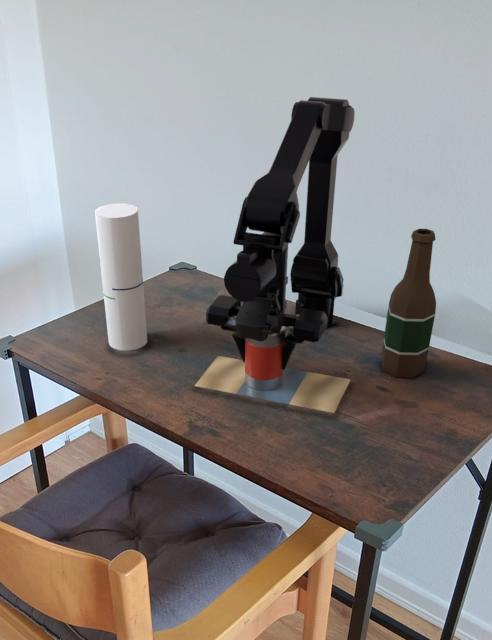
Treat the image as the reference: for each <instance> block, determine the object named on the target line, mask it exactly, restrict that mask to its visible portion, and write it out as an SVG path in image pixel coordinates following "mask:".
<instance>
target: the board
mask: <svg viewBox="0 0 492 640" xmlns="http://www.w3.org/2000/svg"><path fill="white" fill-rule="evenodd" d="M351 380H352V379H350V378H345V377H339V376H334V375H328V374H327V375H326V374H323V373H318V372H317V373H316V372H311V371H306V370H301V369H300V370H299V369H296V368H295V369H294V368H289V367H286V368H285V370H284V372H283V383H282V385H281V386H280V387H278V388H276V389H273V390H266V391H263V390H256V389H253V388H251V387H249V386H248V385H247V384H246V383H245V362H243V360H242V359H239V358H233V357H228V356H221V355H218V356H217V357H216V358H215V359H214V360H213V362H212V363H211V364H210V365H209V367H207V369H206V370H205V372H204V373H202V375H201V376H200V378H199V379H198V381H197V382H196V383H195V384H194V387H198V388H202V389H208V390H214V391H219V392H224V393H228V394H234V395H238V396H239V395H240V396H244V397H250V398H254V399H260V400H266V401H271V402H275V403H280V404H285V405H291V406H295V407H301V408H306V409H311V410H317V411H321V412H326V413H332V414H335V413H336V411H337V409H338V407H339V405H340V402H341V400H342V399H343V396H344V395H345V392H346V391H347V389H348V387H349V384H350V383H351Z"/></svg>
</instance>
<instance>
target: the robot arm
mask: <svg viewBox="0 0 492 640" xmlns="http://www.w3.org/2000/svg"><path fill="white" fill-rule="evenodd" d="M354 123H355V108H354V107H353V106H352V105H350V103H349V100H348V99H346V98H345V99H344V98H342V99H341V98H333V97H332V98H331V97H316V96H310V97H309V98H308V99H307V100H303V99H302V100H299V101H296V102H295V103H293V106H292V109H291V119H290V122H289V124H288V127H287V129H286V131H285V134H284V136H283V138H282V141H281V143H280V146H279V148H278V150H277V153H276V155H275V157H274V159H273V162H272V164H271V167H270V169H269V171H268V172H267V173H265V175H263V176H261V177H260V178H258V179H257V180H255V182H254V183H253V185H252V187H251V189H250V191H249V192H248V194H247V195H246V196H245V197H244V200H243V201H242V205H241V209H240V214H239V217H238V222H237V226H236V229H235V233H234V238H233V245H237V246H242V250H241V251H240V252H239V251H238V253H237V254H236V260H235V261H234V262H233V263H232V264H231V265H230V266H228V268H227V269H226V271H225V272H224V273H225V274H224V276H223V284H224V287H225V290H226V291H227V293H228V294H229V296H228V295H224V294H223V295H222V294H219V295H218V296H217V297H216V298H215V299H214V300H213V301H212V302H211V304H209V306H208V307H207V308H206V312H205V322H206V323H207V324H208V325H211V326H212V325H213V326H217V327H220V328H221V330H222V331H225V332H227V333H228V334H230V335H231V337H232V339H233V340H234V342H235V345H236V348H237V350H238V353H239V356H240V357H241V360H243V362H245V338H248V339H254V340H256V341H264V340H266V339H267V337H268V335H272V333H276V334H279V333H280V331H281V328H282V326H285V327H286V328H288V333H287V334H286V335H285V338H284V342H285V347H284V354H283V360H282V369H283V370H285V368H288V364H289V362H290V360H291V358H292V355H293V353H294V351H295V349H296V346H297V344H303V343H304V342H308V343H317V342H319V341H320V339H321V338H322V336H323V334H324V333H325V332H326V330H327V328H328V327H334V326H336V325H338V321H337V320H336V319H334V309H335V300H336V298H338V297H339V298H340V297H342V296H343V291H344V290H343V289H344V280H345V279H344V276H343V274H342V271H341V268H340V267H339V253H338V252H337V249H336V248H335V246H334V244H333V242H332V241H331V240H332V239H331V238H332V227H333V214H334V205H335V203H334V201H335V192H336V191H335V189H336V181H337V180H336V179H337V167H338V156H339V154H340V152H341V151H342V149H343V148H344V147H345V145H346V143H347V142H348V141H349V140H350V139H349V138H350V133H351V131H352V129H353V126H354ZM307 166H308V172H307V173H308V175H307V191H306V205H305V206H306V208H305V222H304V223H305V224H304V239H303V245H302V246H301V247H300V248H299V250H298V251H297V253H296V255H295V256H294V257H293V259H292V264H291V268H290V274H289V275H290V276H288V275H287V273H288V257H289V244H292V243H293V240H294V236H295V234H296V230H297V226H298V224H299V221H300V218H301V211H300V203H299V198H298V193H297V192H298V189H299V186H300V184H301V181H302V179H303V176H304V175H305V172H306V169H307ZM248 230H250V231H254V232H260V233H253V232H248ZM261 232H262V233H261ZM289 277H290V286H291V293H294V294H297V295H298V296H297V299H296V300H295V309H294V311H295V312H294V314H288V313H286V309H287V305H288V304H287V303H288V302H287V300H286V297H287V296H286V294H287V285H288V283H289Z"/></svg>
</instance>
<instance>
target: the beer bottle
mask: <svg viewBox="0 0 492 640" xmlns="http://www.w3.org/2000/svg"><path fill="white" fill-rule="evenodd" d="M410 237H411V245H410V250H409V254H408V259H407V264H406V268H405V271H404V275H403V277H402V279H400V281H399V282H398V283H397V284H396V285H395V287H394V288H393V290H392V291H391V294H390V297H389V301H388V305H387V307H388V308H387V314H386V321H385V328H384V333H383V334H384V335H383V342H382V350H381V358H380V361H381V366H382V370H383V372H384V373H386V374H388V375H391V376H393V377H395V378H411V379H412V378H415V377H416V376H419V375H421V374H422V373H424V371H425V369H426V364H427V361H428V355H429V349H430V345H431V339H432V334H433V328H434V323H435V319H436V310H437V300H436V295H435V292H434V289H433V285H432V284H431V281H430V280H431V275H430V274H431V265H432V264H431V263H432V254H433V246H434V242H435V241H436V233H435V231H434V230H433V229H429V228H418V229H415V230H413V231H412V233H411V235H410Z"/></svg>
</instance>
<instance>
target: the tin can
mask: <svg viewBox="0 0 492 640" xmlns="http://www.w3.org/2000/svg"><path fill="white" fill-rule="evenodd" d="M286 332H287V327H285V326H282V328H281V331H280V333H279V334H276V333H272V335H268V337H267V339H266V340H264V341H256V340H254V339H248V338H245V383H246V384H247V385H248V386H249V387H251V388H253V389H256V390H263V391H266V390H273V389H276V388H278V387H280V386H281V385H282V383H283V372H284V370H283V369H282V360H283V354H284V347H285V342H284V338H285V337H286V335H287V334H286Z"/></svg>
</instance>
